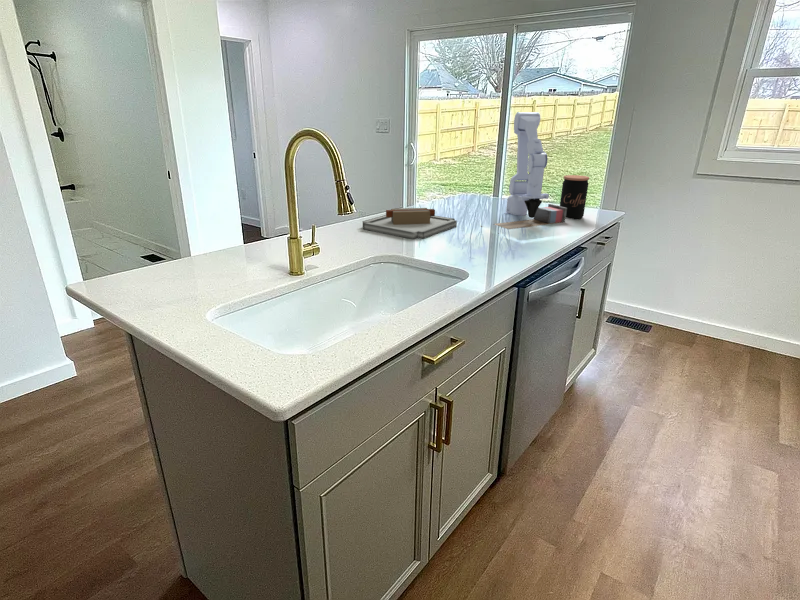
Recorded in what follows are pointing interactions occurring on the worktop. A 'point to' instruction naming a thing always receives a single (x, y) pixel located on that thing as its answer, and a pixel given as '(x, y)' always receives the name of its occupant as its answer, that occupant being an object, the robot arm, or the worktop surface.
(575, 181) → the coffee jar
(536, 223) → the book shelf
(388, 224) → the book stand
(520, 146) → the robot arm
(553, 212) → the slate book
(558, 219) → the red rectangular block
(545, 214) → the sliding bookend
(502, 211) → the worktop surface
